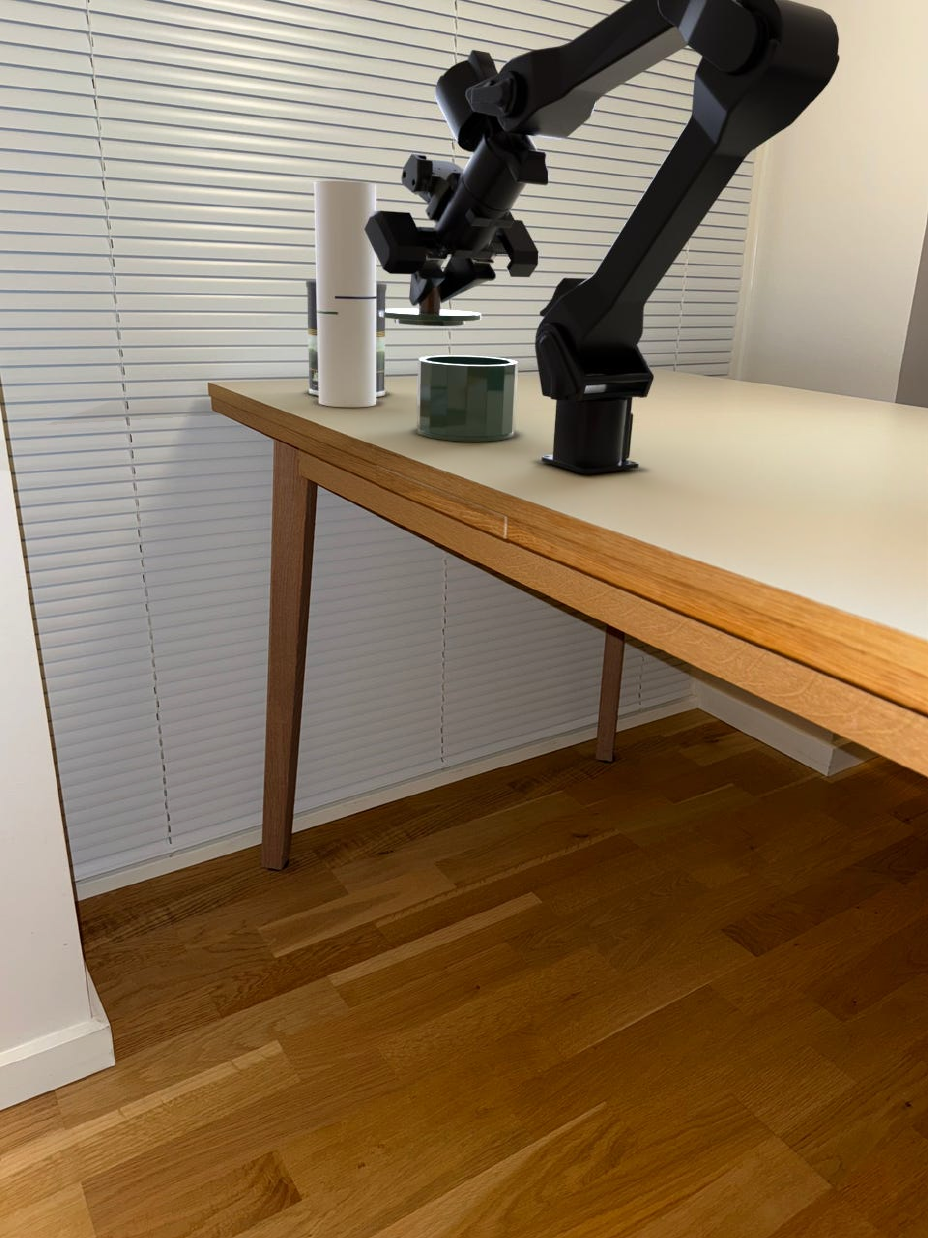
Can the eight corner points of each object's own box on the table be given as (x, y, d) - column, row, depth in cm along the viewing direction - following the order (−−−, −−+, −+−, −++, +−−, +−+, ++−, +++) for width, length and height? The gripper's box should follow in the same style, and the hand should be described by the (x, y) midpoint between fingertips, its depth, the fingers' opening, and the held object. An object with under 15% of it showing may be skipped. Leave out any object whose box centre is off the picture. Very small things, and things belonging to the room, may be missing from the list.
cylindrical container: (372, 408, 113) (372, 181, 104) (314, 406, 113) (309, 179, 104) (379, 400, 120) (379, 186, 111) (323, 398, 120) (319, 184, 111)
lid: (410, 327, 94) (411, 267, 92) (359, 319, 103) (359, 264, 101) (500, 326, 100) (503, 270, 98) (445, 319, 108) (447, 267, 106)
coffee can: (381, 400, 120) (381, 284, 115) (301, 397, 120) (298, 281, 115) (390, 390, 129) (390, 282, 124) (316, 387, 130) (314, 279, 125)
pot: (451, 444, 92) (453, 367, 90) (400, 428, 100) (401, 356, 98) (533, 437, 98) (537, 364, 95) (478, 422, 106) (481, 354, 103)
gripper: (528, 136, 97) (462, 248, 109) (374, 115, 86) (320, 242, 99) (574, 217, 94) (501, 324, 106) (419, 206, 83) (358, 325, 96)
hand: (422, 302), depth 102 cm, fingers closed on lid, 2 cm apart
